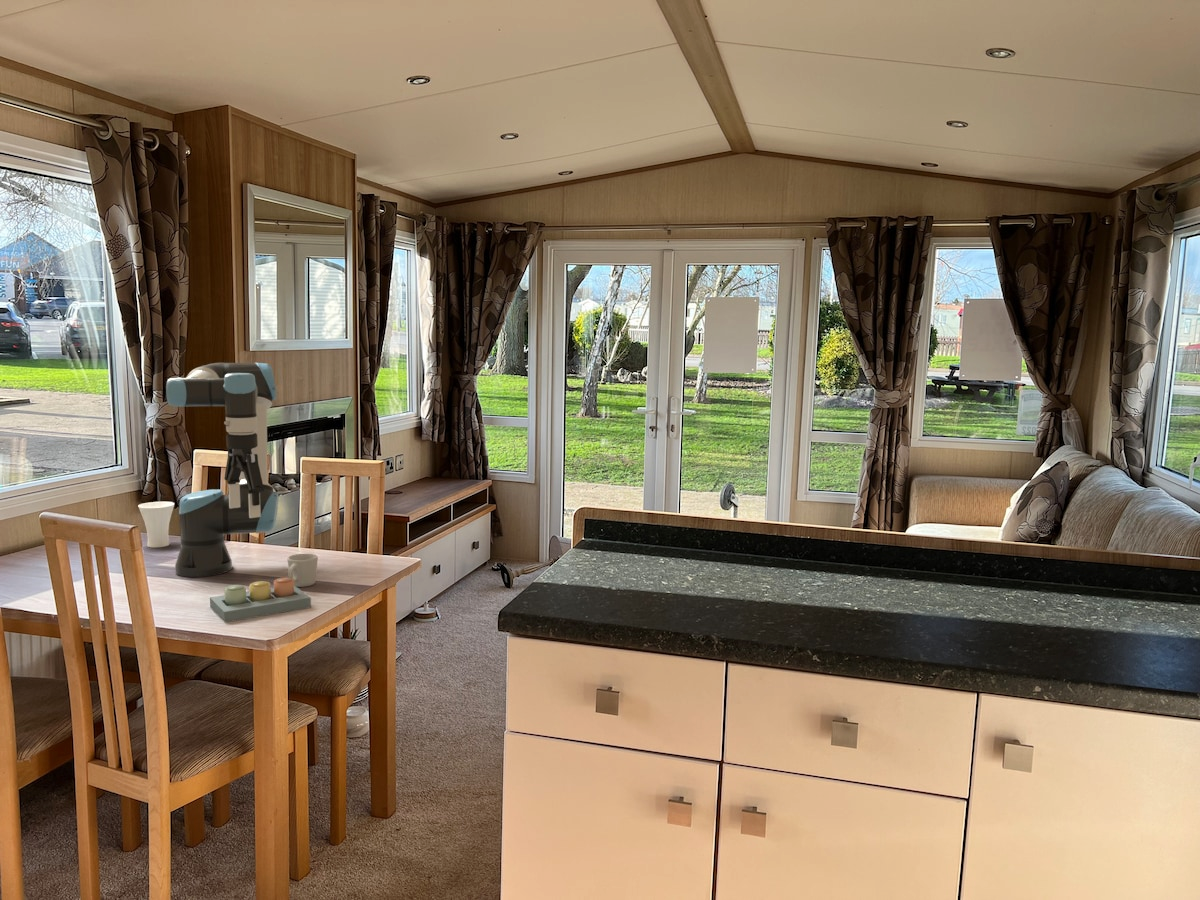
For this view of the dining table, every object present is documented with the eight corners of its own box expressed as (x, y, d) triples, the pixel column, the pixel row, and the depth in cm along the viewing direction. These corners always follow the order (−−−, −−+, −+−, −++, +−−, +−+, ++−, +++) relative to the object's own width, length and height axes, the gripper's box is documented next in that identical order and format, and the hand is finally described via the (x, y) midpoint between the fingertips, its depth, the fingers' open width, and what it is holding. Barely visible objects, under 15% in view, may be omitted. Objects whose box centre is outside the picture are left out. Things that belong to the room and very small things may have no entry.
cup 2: (303, 592, 236) (302, 564, 235) (276, 590, 238) (275, 562, 237) (323, 581, 247) (323, 554, 246) (298, 579, 248) (297, 552, 247)
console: (210, 607, 223) (209, 597, 222) (293, 593, 235) (292, 584, 235) (224, 622, 212) (224, 611, 211) (310, 607, 224) (310, 597, 224)
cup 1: (132, 548, 280) (130, 506, 278) (154, 540, 290) (152, 500, 288) (162, 550, 278) (160, 508, 276) (183, 542, 288) (181, 502, 286)
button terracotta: (271, 594, 227) (270, 578, 227) (290, 591, 230) (290, 576, 230) (277, 599, 223) (276, 583, 223) (297, 595, 226) (296, 580, 226)
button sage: (222, 602, 220) (222, 586, 219) (243, 598, 223) (242, 583, 222) (228, 607, 216) (227, 591, 216) (248, 603, 219) (248, 587, 219)
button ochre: (247, 598, 224) (246, 582, 223) (267, 594, 227) (267, 579, 226) (253, 603, 220) (252, 587, 219) (273, 599, 223) (272, 584, 222)
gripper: (209, 428, 233) (212, 505, 237) (246, 439, 215) (249, 523, 219) (237, 426, 238) (240, 502, 242) (275, 437, 220) (278, 519, 224)
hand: (244, 512), depth 230 cm, fingers open, 13 cm apart
